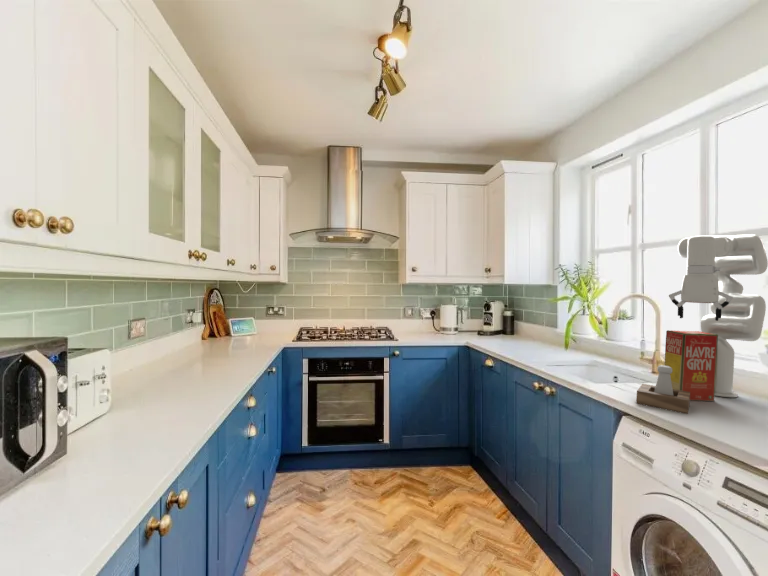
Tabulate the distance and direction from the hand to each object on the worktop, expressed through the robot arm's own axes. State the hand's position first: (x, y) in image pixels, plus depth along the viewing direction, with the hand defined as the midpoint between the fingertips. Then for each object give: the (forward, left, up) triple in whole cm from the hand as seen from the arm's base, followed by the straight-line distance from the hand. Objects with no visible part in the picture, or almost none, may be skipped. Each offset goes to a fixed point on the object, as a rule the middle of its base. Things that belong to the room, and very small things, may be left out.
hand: (698, 319), depth 131 cm
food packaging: (-10, -2, -31) cm, 32 cm away
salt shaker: (+8, -8, -30) cm, 32 cm away
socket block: (+8, -8, -31) cm, 33 cm away
